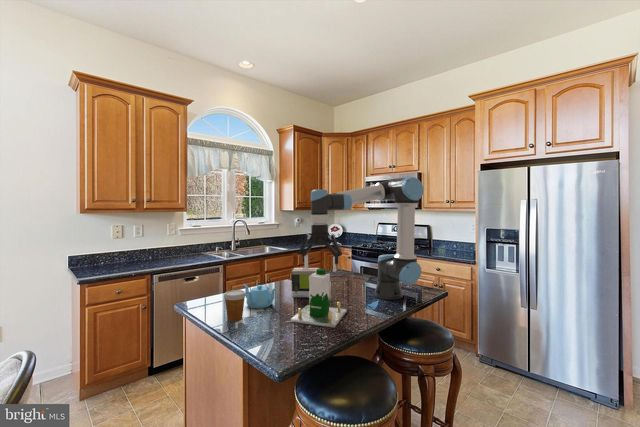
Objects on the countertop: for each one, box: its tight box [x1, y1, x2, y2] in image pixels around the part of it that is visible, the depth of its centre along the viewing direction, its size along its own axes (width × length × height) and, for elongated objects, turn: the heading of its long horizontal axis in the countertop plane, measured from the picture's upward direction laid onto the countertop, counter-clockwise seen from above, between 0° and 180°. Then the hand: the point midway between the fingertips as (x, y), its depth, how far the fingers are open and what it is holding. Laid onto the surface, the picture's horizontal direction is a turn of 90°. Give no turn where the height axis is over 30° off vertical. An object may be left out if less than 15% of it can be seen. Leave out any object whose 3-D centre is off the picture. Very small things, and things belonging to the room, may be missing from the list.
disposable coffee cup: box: [223, 289, 246, 322], centre depth 142 cm, size 10×10×12 cm
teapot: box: [243, 283, 278, 310], centre depth 160 cm, size 15×15×10 cm
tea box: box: [290, 267, 321, 298], centre depth 178 cm, size 15×10×15 cm, turn 84°
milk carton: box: [308, 268, 331, 317], centre depth 144 cm, size 9×9×20 cm
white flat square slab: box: [290, 301, 347, 328], centre depth 145 cm, size 20×20×5 cm
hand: (320, 270), depth 144 cm, fingers open, 13 cm apart
